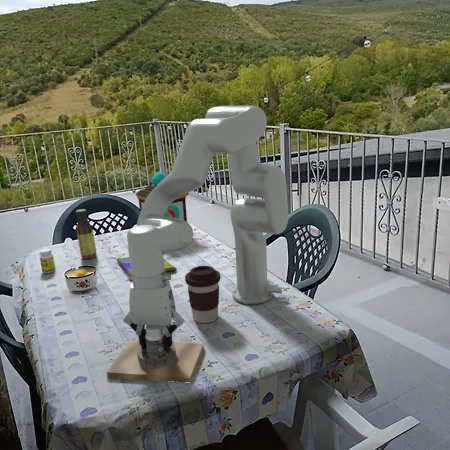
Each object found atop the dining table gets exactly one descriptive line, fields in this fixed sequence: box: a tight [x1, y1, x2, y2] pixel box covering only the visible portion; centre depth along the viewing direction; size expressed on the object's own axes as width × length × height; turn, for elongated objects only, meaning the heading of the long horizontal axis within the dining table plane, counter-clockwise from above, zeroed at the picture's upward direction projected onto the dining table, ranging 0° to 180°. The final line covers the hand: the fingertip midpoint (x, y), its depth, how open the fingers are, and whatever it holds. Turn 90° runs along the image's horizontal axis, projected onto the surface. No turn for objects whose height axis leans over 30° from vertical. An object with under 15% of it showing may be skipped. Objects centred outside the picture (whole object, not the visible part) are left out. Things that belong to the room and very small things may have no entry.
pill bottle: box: [145, 325, 167, 359], centre depth 108 cm, size 5×5×8 cm
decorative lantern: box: [135, 171, 188, 223], centre depth 198 cm, size 20×20×30 cm
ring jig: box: [106, 339, 205, 383], centre depth 109 cm, size 20×14×4 cm
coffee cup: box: [184, 265, 221, 324], centre depth 128 cm, size 10×10×15 cm
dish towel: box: [116, 256, 178, 282], centre depth 170 cm, size 18×24×3 cm
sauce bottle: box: [75, 208, 98, 260], centre depth 181 cm, size 6×6×20 cm
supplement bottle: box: [39, 248, 56, 274], centre depth 170 cm, size 5×5×8 cm
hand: (156, 347), depth 108 cm, fingers open, 5 cm apart
